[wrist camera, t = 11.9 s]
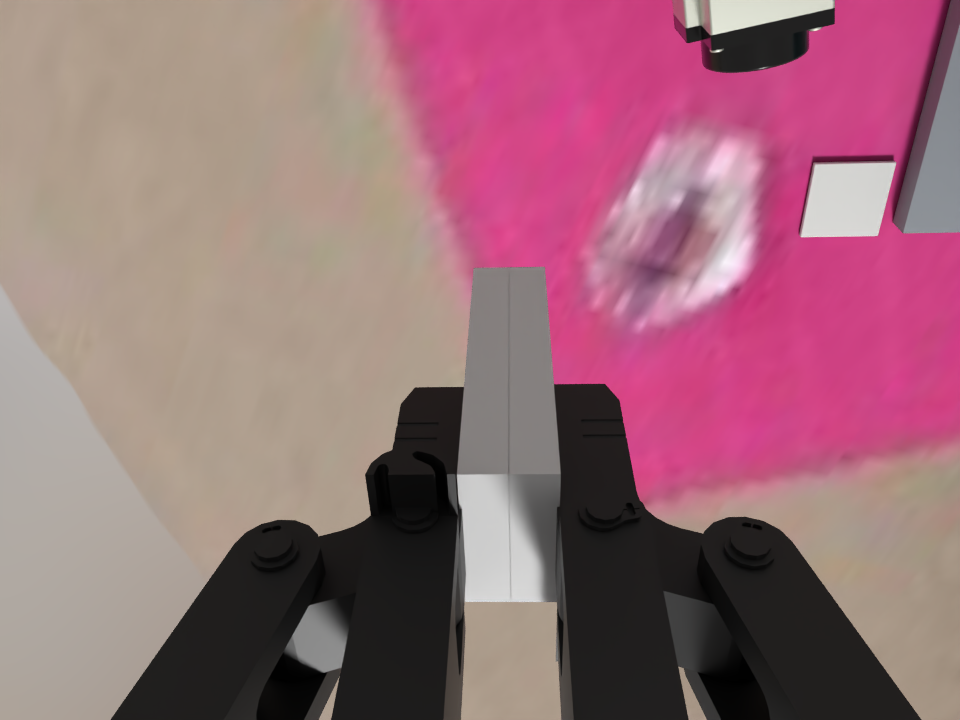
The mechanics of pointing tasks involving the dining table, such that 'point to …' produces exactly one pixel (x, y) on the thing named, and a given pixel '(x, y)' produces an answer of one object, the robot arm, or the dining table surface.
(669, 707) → the robot arm
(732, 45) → the pneumatic valve
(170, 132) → the dining table surface
